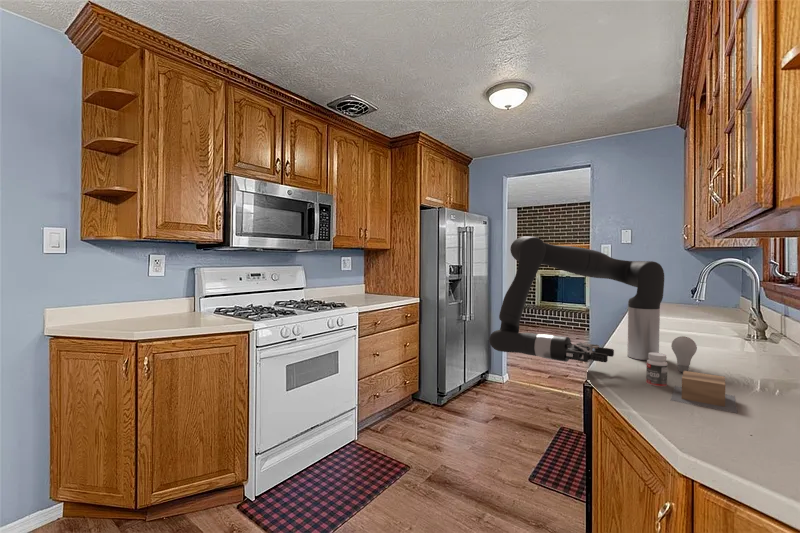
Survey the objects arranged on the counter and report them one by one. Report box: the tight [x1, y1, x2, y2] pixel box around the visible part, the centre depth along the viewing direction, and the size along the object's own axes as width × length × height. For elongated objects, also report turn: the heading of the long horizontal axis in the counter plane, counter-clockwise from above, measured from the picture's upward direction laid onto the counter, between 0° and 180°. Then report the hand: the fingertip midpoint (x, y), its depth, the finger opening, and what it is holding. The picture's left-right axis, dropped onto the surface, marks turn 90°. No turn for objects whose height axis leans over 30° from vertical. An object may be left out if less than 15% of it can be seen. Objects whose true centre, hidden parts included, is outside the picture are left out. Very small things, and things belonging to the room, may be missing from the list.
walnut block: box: [681, 370, 726, 407], centre depth 94 cm, size 8×8×5 cm
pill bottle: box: [645, 352, 669, 387], centre depth 105 cm, size 5×5×8 cm
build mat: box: [670, 385, 738, 414], centre depth 94 cm, size 14×12×1 cm
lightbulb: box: [671, 335, 698, 374], centre depth 116 cm, size 6×6×11 cm
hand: (610, 355), depth 112 cm, fingers open, 8 cm apart
